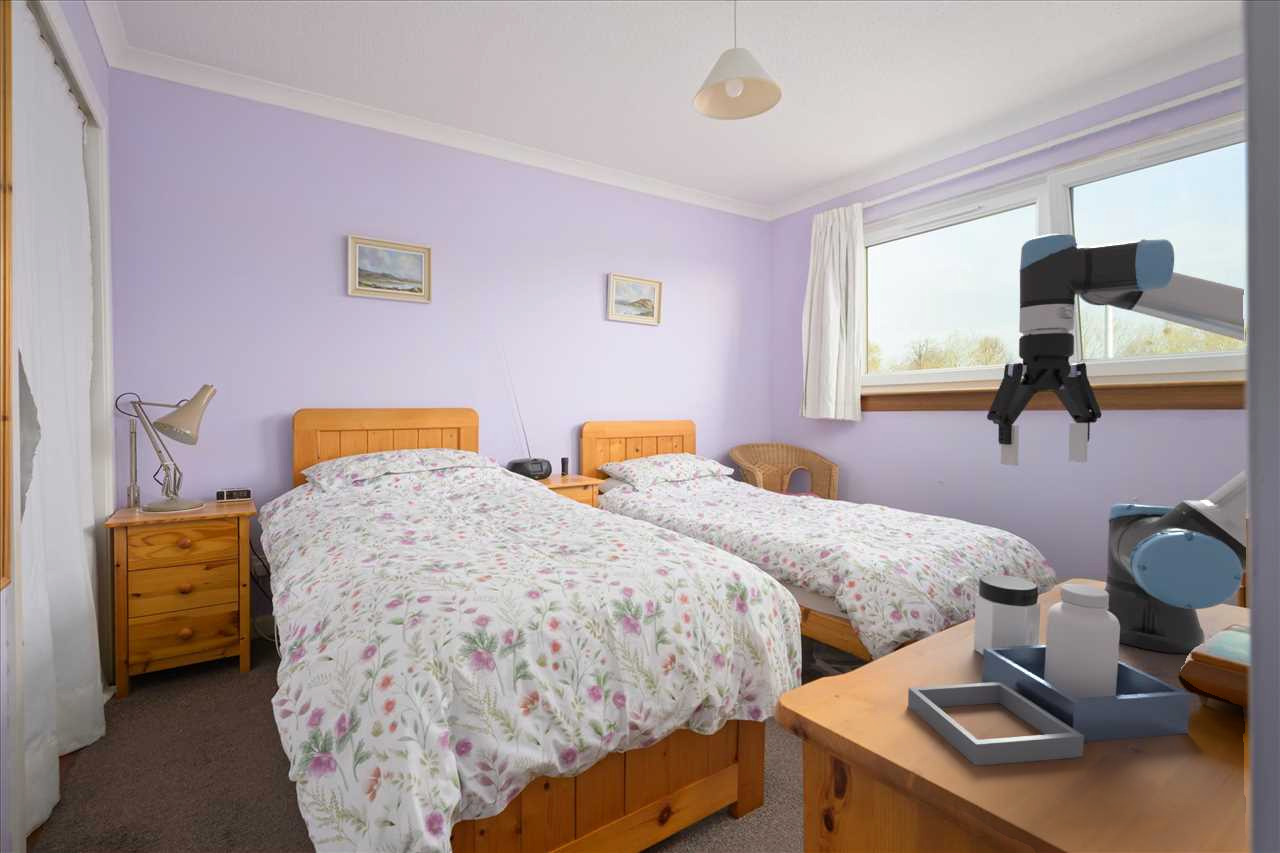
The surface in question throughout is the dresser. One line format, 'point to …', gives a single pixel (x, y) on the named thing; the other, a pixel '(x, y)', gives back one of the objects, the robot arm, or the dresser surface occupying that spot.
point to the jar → (1006, 613)
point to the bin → (1126, 715)
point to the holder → (1001, 750)
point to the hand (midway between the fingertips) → (1044, 463)
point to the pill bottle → (1082, 643)
